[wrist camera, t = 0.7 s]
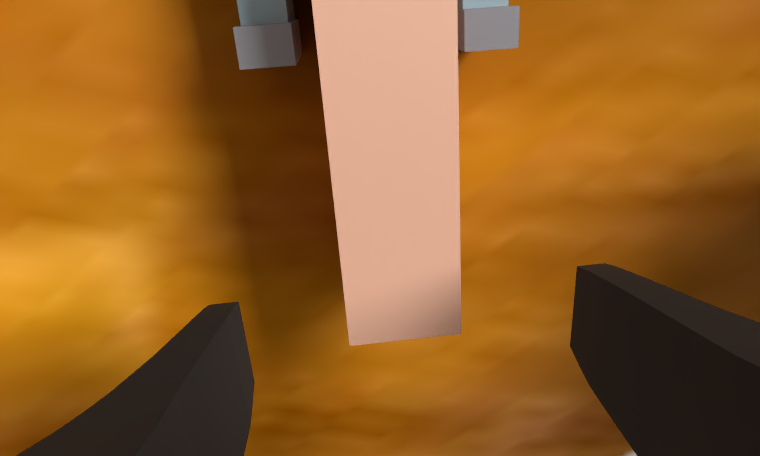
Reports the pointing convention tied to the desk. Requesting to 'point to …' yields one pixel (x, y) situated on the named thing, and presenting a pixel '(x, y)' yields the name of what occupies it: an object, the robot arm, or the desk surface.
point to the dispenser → (283, 41)
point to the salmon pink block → (394, 162)
